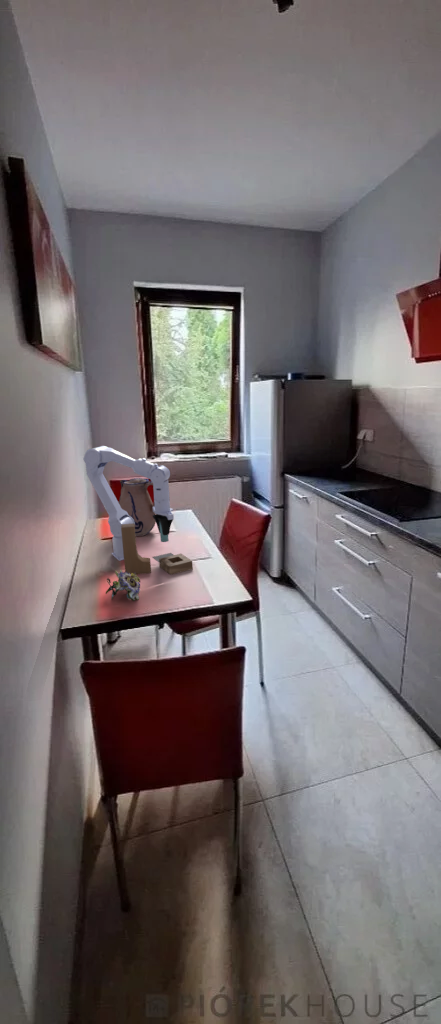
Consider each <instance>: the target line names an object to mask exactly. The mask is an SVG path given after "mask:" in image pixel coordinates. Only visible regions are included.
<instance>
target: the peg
mask: <svg viewBox="0 0 441 1024" xmlns="http://www.w3.org/2000/svg"><path fill="white" fill-rule="evenodd" d="M159 523H160V522H159ZM159 536H160V542H161V543H167V542H169V535H163V533H162V527H161V524H160V533H159Z"/></svg>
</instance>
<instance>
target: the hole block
mask: <svg viewBox="0 0 441 1024" xmlns="http://www.w3.org/2000/svg"><path fill="white" fill-rule="evenodd" d="M158 565H159V568H160V569H162V570H163V571H165V573H167V574H168V575H175V574H179V573H182V572H186V571H190V570H191V571H192V570H193V569H194V568H193V560H192V559H190V558H188V557H187V556H185V555H184V554H183V553H178V554H173V556H168V557H164V558H160V559H159V562H158Z"/></svg>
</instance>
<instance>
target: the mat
mask: <svg viewBox="0 0 441 1024" xmlns="http://www.w3.org/2000/svg"><path fill="white" fill-rule="evenodd" d="M173 555H174V553H172V552H167V553H164V554H159V555H156V556H152V559H154V560H155V561H157V562H158V563H159V559H160V558H164V557H168V556H173Z"/></svg>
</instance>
